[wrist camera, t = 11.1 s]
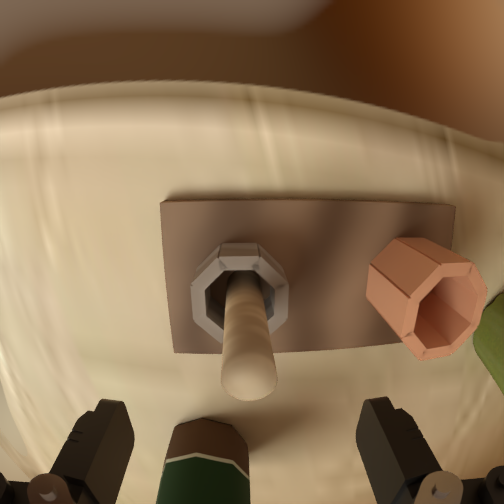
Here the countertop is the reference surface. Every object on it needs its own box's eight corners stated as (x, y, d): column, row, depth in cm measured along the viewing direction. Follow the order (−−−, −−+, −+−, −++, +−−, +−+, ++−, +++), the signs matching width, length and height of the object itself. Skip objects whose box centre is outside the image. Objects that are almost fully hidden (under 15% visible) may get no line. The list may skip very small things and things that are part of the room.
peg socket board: (448, 204, 22) (479, 213, 18) (427, 332, 24) (450, 355, 21) (163, 201, 21) (147, 209, 17) (176, 346, 24) (166, 376, 20)
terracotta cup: (443, 237, 21) (493, 261, 15) (430, 313, 23) (471, 350, 17) (371, 237, 21) (413, 264, 15) (362, 319, 23) (394, 365, 17)
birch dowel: (260, 267, 21) (278, 357, 12) (260, 298, 22) (276, 399, 12) (226, 268, 21) (219, 359, 12) (227, 299, 22) (223, 401, 12)
